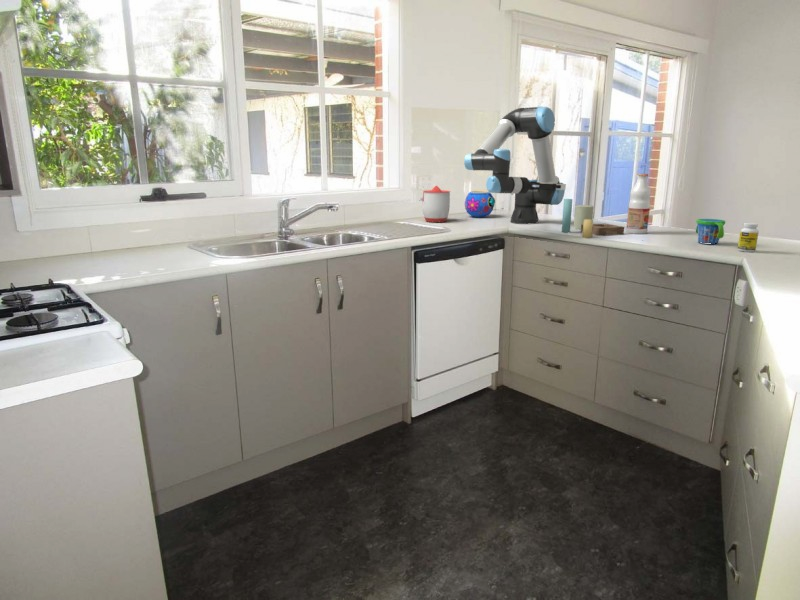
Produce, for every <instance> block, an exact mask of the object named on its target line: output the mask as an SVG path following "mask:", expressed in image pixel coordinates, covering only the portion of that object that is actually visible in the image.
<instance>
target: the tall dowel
mask: <svg viewBox="0 0 800 600" xmlns="http://www.w3.org/2000/svg"><path fill="white" fill-rule="evenodd" d="M572 208H573V199H572V198H563V207H562V218H561V219H562V220H561V233H563V232H564V234H566V233H567V234H569V233H568V232H570V233H571V224H572V222H571V221H572V212H573V209H572Z"/></svg>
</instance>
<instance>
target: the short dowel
mask: <svg viewBox="0 0 800 600" xmlns="http://www.w3.org/2000/svg"><path fill="white" fill-rule="evenodd" d="M593 222H594V221H593V219H592V220H590V219H585V220H584V223H583V232H582V234H581V235H582V236H581V237H582V238H584V239H591V238H592V236H593V234H592V224H594V223H593Z"/></svg>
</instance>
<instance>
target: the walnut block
mask: <svg viewBox="0 0 800 600" xmlns="http://www.w3.org/2000/svg"><path fill="white" fill-rule="evenodd" d="M580 232H581V233H583V225H581V229H580ZM624 233H625V226H621V225H616V224H610V223H606V222H604V223H593V224H592V235H593V234H594V235H593V236H598V235H603V236H614V235H613V234H620V235H625V234H624Z"/></svg>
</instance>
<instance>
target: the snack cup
mask: <svg viewBox="0 0 800 600" xmlns="http://www.w3.org/2000/svg"><path fill="white" fill-rule="evenodd" d="M696 224H697V226H696V228H695V233H696V234H697V242H702V243H711V244H714V245H716V244H715V243H718V244H719V242H720V239H723V238H724V235H725V231H724V226H725V224H726V220H724V219H717V218H698V219H697V220H696Z"/></svg>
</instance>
